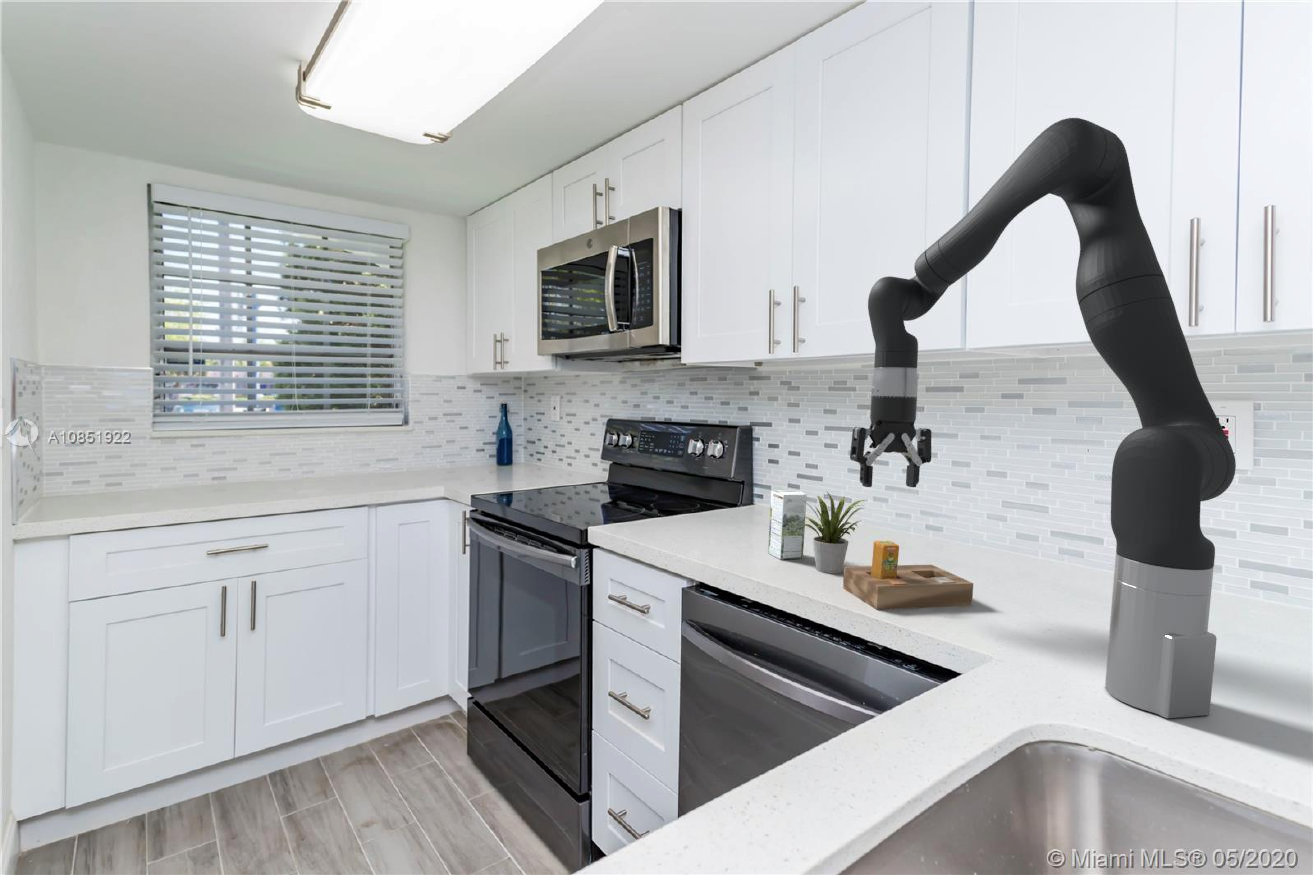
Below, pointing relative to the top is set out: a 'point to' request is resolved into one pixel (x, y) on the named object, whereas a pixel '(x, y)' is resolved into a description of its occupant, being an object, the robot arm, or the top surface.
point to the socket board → (909, 587)
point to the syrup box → (787, 524)
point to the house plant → (831, 536)
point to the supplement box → (885, 560)
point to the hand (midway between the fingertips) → (889, 486)
